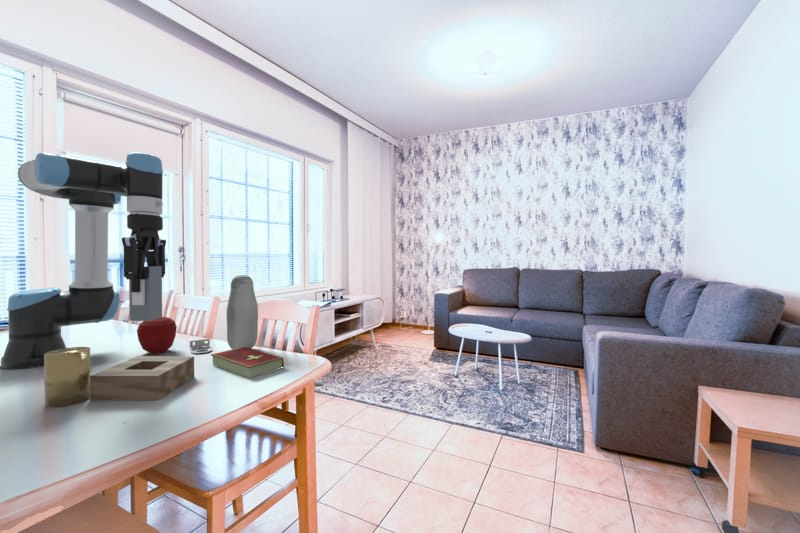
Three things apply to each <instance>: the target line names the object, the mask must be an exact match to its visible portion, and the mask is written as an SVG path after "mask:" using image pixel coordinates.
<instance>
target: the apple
mask: <svg viewBox="0 0 800 533" xmlns="http://www.w3.org/2000/svg"><path fill="white" fill-rule="evenodd" d="M177 328H178V326H177V324H176V321H175V320H174V319H173V318H171V317H168V316H162V318H159V319H155V320H151V321H141V323H139V325H138V327H137V329H136V333H137V334H136V335H137V340H138V341H139V342H138V343H139V344H140V346H141V349H142V350H144V351H145V352H147V353H149V354H153V355H155V354H156V355H157V354H158V355H159V354H163V353H166V352H168V350H169V349H170V348H172V346H173V344H174V341H175V339H176V334H177Z"/></svg>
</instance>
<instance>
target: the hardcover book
mask: <svg viewBox="0 0 800 533" xmlns="http://www.w3.org/2000/svg"><path fill="white" fill-rule="evenodd" d="M210 356H212V366H214V365H215V367H217V366H218V367H217V368H220V369H223V370H225V369H226V371H228V372H231V373H233V372H234V374H236V373H237V374H236V375H239V376H241V377H244V376H245V378H248V379H251V378H255V377H258V376H261V375H260V374H262V375H264V374H263V373H265V374H267V373H266V372H268V373H270V372H269V371H271V372H273V371H272V370H275V369H278V368H281V367H283V368H284V367H285V366H284V365H285V361H284V357H283V356H280V355H279V356H278V355H275V354H272V353H269V352H264V351H262V350H258V349H254V348H247V347H241V348H237V349H228V350H224V351H220V352H214V353H211V354H210ZM281 369H282V368H281ZM278 370H279V369H278ZM275 371H276V370H275ZM257 375H258V376H257ZM254 376H255V377H254Z"/></svg>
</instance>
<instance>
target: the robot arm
mask: <svg viewBox="0 0 800 533" xmlns="http://www.w3.org/2000/svg"><path fill="white" fill-rule="evenodd" d="M125 165H126V166H123V165H116V164H113V163H112V164H111V163H106V162H99V161H95V160H94V161H93V160H88V159H83V158H82V159H81V158H76V157H70V156H65V155H61V154H59V153H58V154H56V153H46V152H39V153H37V154H36V156H35V158H34V159H32V160H29V161H26V162H24V163H23V164H21V165H20V167H19V168H18V170H17V176H18V180H19V181H20V183H21V184H22V185H23V186H24V187H25V188H27V189H28V190H30V191H33V192H34V193H37V194H39V195H42V196H47V197H51V198H54V199H55V198H56V199H65V200H68V206H69V207H71V208H72V209H73V210H74V281H72V282H71V283H70V284H69V285H68V290H66V291H62V289H61V288H60V287H44V288H36V289H30V290H24V291H19V292H15V293H13V294H11V295H10V296H9V297H8V302H7V303H8V304H7V309H6V310H7V312H8V314H7V315H8V342H7V345H6V346H5V347H6V348H5V350H4V352H3V356H2V357H0V358H1V359H0V368H2V369H7V370H10V369H11V370H16V369H19V370H20V369H29V368H36V367H42V366H43V367H44V354H45V353H47V352H50V351H53V350H58V349H64V348H67V346H66V344H65V341H64V338H63V336H62V327H66V326H75V325H84V324H95V323H96V324H97V323H101V322H108V321H111V320H113V319H114V318H115V317H116V316H117V313H118V311H119V307H120V302H121V301H120V300H121V299H120V291H119V289H118V288H115V287H114V283H112V282H111V281H109V280H108V276H109V274H108V273H109V272H108V271H109V269H108V267H109V266H108V263H109V262H108V261H109V257H108V256H109V255H108V254H109V249H108V248H109V213H110V212H112V211H113V210H114V207H115V205H118V204H120V201H121V197H126V212H127V213H129V214H128V215H127V216H126V227H127V229H129V230H131V233H130V236H128V237H126V236H125V237H122V238H121V243H122V246H123V278H125V279H126V280H129V279H131V291H132V305H145V279H142V276H143V270H144V266H145V262H146V266H162V279H163V278H164V277H165V275H166V244H167V240H166V239H161V238H160V235H159V231H163V228H164V223H163V222H164V221H163V220H164V218H163V217H162V216H161V215H163V206H164V203H163V173H164V171H163V162H162V160H161V158H160V157H158V156H157V155H153V154H150V153H144V152H130V153H128V154H127V155H126V162H125ZM129 272H130V273H129Z"/></svg>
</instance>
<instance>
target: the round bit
mask: <svg viewBox="0 0 800 533" xmlns="http://www.w3.org/2000/svg"><path fill="white" fill-rule="evenodd" d="M91 365H92V364H91V348H90V347H88V346H74V347H66V348H64V349H58V350H53V351H50V352H47V353H45V354H44V365H43V367H44V370H43V371H44V373H43V374H44V404H45V405H44V407H46V408H48V407H49V409H55V408H56V409H58V407H59V408H65V407H71V406H74V405H79V404H81V403H83V402H86V401H87V400H90V376H91V374H92V372H91V369H92V368H91Z"/></svg>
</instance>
